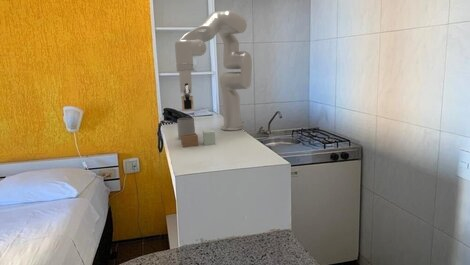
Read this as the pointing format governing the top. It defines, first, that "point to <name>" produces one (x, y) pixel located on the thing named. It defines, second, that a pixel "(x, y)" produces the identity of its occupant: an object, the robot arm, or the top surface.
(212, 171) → the top surface
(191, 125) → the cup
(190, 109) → the maple block
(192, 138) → the walnut block
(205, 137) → the sage block
